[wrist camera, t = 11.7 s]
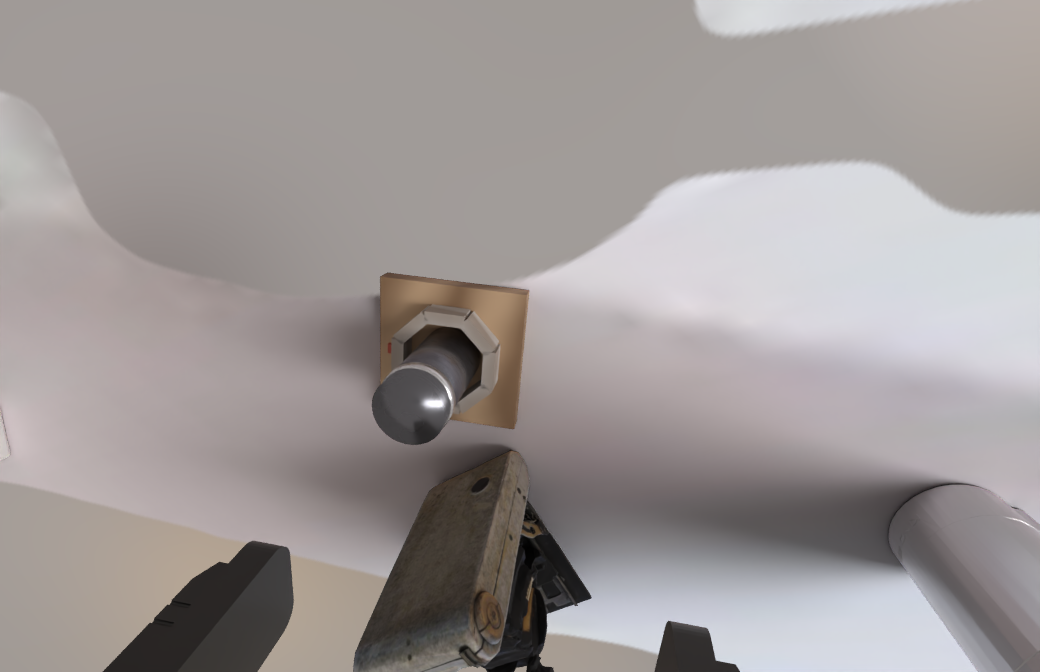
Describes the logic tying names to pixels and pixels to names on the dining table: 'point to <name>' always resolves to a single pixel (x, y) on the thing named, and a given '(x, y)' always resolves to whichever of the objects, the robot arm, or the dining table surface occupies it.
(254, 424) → the dining table surface
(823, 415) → the dining table surface
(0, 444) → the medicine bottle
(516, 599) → the vintage camera
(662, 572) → the dining table surface
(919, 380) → the dining table surface
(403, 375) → the lens
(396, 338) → the mount
